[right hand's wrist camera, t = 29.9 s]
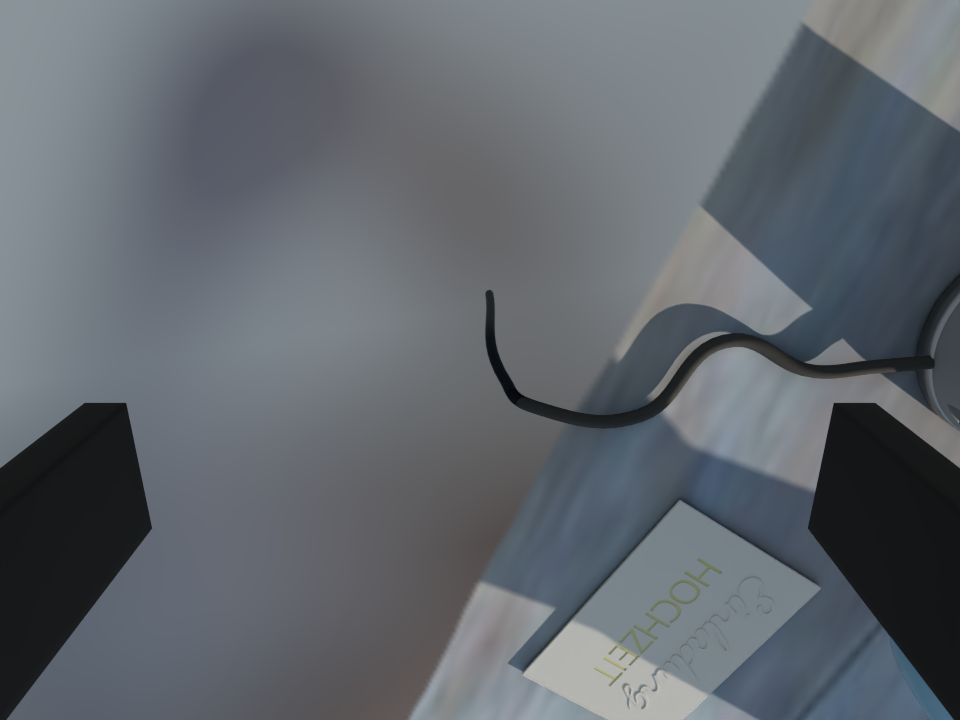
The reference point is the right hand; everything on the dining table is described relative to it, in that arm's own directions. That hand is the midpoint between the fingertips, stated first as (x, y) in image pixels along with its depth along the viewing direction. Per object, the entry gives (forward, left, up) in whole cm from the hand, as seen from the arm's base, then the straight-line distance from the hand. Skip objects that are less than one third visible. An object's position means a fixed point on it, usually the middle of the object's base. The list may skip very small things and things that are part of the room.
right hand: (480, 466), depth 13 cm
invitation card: (+14, -36, -34) cm, 52 cm away
